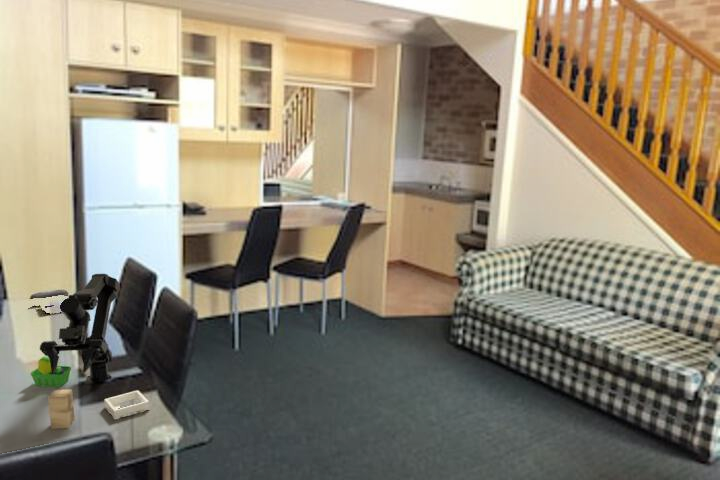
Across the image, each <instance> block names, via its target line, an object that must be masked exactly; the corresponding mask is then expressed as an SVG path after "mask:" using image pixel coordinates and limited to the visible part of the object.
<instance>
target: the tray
mask: <svg viewBox="0 0 720 480" xmlns="http://www.w3.org/2000/svg"><path fill="white" fill-rule="evenodd" d="M136 398H137V399H138V400H139V401H140V402H141V403H138V404H134V405H130V406H127V407H123V408H120V403H122V402H125V401H128V400H132V399H136ZM104 408H105V410H106V409H107V410H108V411H109V412H108V411H107V410H106V411H107V412H108V413H109V415H110V414H111V415H112V416H113V417H114V418H117V417H120V416H122V415H125V414H128V413H131V412H136V411H140V410H143V409H147V408H149V409H150V401H149V400H148V399H147V398H146V397H145V396H144V394H142V392H141V391H140V390H139V389H138V390H133V391H130V392H126V393H122V394H118V395H116V396H112V397H108V398H107V397H106V398H104ZM118 408H120V409H118ZM111 415H110V416H111ZM112 416H111V417H112ZM113 417H112V418H113ZM114 418H113V419H114Z"/></svg>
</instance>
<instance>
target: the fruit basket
mask: <svg viewBox="0 0 720 480" xmlns="http://www.w3.org/2000/svg"><path fill="white" fill-rule="evenodd" d="M37 365H38V367H37V368H36V369H34V370H32V371H31V372H30V373H29V374H30V376H31V377H32V380H33V382H34V383H35V386H37V387H55V388H56V387H58V388H60V387H62V386H63V385H64V384H67V383H66V382H69V378H70V374H71V370H72V366H70V365H68V366H67V365H65V366H64V365H57V368H56V371H55V374H52V371H51V364H50V359H49V358H48V356H45V355H44V356H42V357H41V358H39V360H38V362H37Z"/></svg>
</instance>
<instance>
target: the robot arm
mask: <svg viewBox="0 0 720 480" xmlns="http://www.w3.org/2000/svg"><path fill="white" fill-rule="evenodd" d="M120 288H121V285H120V282H119V281H118V279H117V278H114V277H111V276H109V275H108V274H107V273H95V274H92V275H91V279H90V280H89V281H88V283H87V284H86V285H85V286H84V287H83V289H81V290H78V291H76V292H74V293H73V294H68V298H67V299H65V300H64V301H63V302H62V303H61V305H60V309H61V311H62V312H63V315H64V316H65V318H66V319H67V320H68V321H69V322H68V326H66V328H59V334H58V339H59V340H61V342H62V344H57V342H56V341H55V340H52V341H51V340H49V341H48V340H47V341H45V340H44V341H43V342H41V343H40V345H39V350H40V352H42V354H43V355H44V356H47V357H48V358H49V359H50V364H51V371H52V374H55V371H56V368H57V366H58V363H59V359H60V356H59V354H60V352H64V351H65V352H67V351H71V352H72V351H80V352H81V353H80V356H81V360H82V363H83V366H82V367H83V368H82V372H83V373H86V372H87V371H88V370H89V374H90V375H87V376H86V377H87V379H88V380H89V381H91V382H92V383H98V382H101V381H105V380H108V379H111V378H112V375H111V374H110V373H109V372H108V371H109V370H108V364H109V363H112V362H113V352H112V351H111V349H110V348H109V344H108V342H107V340H106V333H107V327H108V323H109V315H110V310H111V304H112V302H114V300H115V299H116V298H117V297H118V293H119V291H120ZM94 309H95V313H94V318H93V323H92V327H91V334H90V335H89V336H88V328H89V323H90V321H91V320H92V319H91V314H90V313H89V312H88V311H93V310H94ZM63 343H64V344H63Z"/></svg>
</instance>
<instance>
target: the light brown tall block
mask: <svg viewBox="0 0 720 480" xmlns="http://www.w3.org/2000/svg"><path fill="white" fill-rule="evenodd" d="M73 396H74V395H73V389H71V388H70V389H67V388H66V389H54V390H53V392H51V393H50V395H48V397H47V400H48V410H49V419H50V429H52V430H53V429H67V428H70V426H71V425H72V424H73V423H74V422H75V420H76V418H75V417H76V416H75V408H74V399H73V398H74V397H73Z"/></svg>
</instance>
